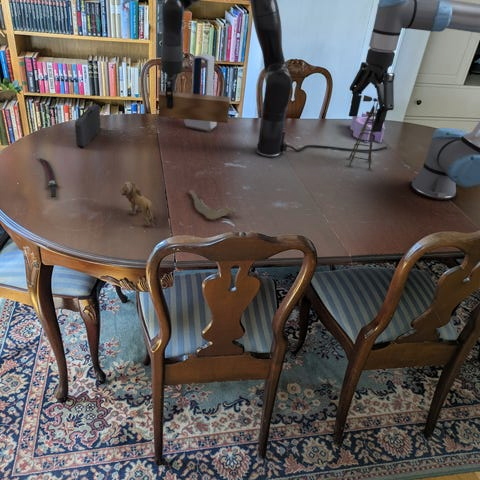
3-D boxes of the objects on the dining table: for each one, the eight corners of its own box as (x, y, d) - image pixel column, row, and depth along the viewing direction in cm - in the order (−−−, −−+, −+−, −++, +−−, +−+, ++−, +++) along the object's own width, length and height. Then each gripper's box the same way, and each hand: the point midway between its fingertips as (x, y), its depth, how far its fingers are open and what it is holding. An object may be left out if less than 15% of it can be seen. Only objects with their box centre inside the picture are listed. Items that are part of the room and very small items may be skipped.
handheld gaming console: (94, 127, 192) (92, 103, 187) (101, 127, 192) (99, 103, 187) (76, 147, 173) (73, 121, 167) (83, 148, 173) (80, 122, 167)
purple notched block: (343, 126, 223) (346, 112, 219) (367, 127, 225) (371, 113, 221) (360, 142, 206) (364, 127, 202) (386, 142, 209) (390, 127, 205)
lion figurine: (118, 210, 138) (116, 182, 133) (132, 204, 141) (131, 177, 137) (151, 229, 130) (150, 201, 126) (165, 223, 134) (165, 195, 129)
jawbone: (218, 227, 136) (218, 221, 134) (170, 202, 146) (169, 197, 145) (238, 214, 141) (238, 209, 140) (190, 191, 152) (190, 186, 151)
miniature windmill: (370, 170, 181) (390, 92, 164) (348, 166, 182) (366, 88, 166) (369, 161, 188) (389, 86, 172) (348, 157, 189) (366, 82, 173)
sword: (61, 197, 141) (61, 193, 140) (50, 198, 139) (50, 194, 139) (49, 160, 164) (48, 156, 163) (39, 160, 163) (39, 157, 162)
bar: (158, 116, 172) (158, 94, 167) (160, 111, 176) (160, 90, 172) (227, 123, 173) (229, 101, 168) (228, 118, 177) (229, 97, 173)
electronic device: (216, 128, 205) (221, 56, 188) (210, 133, 198) (214, 59, 182) (190, 122, 207) (193, 51, 191) (183, 127, 201) (185, 54, 185)
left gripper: (180, 63, 157) (178, 112, 167) (185, 54, 169) (183, 101, 179) (157, 61, 157) (157, 110, 166) (164, 52, 169) (164, 99, 178)
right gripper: (420, 60, 122) (398, 138, 133) (369, 41, 141) (353, 110, 153) (396, 60, 119) (376, 139, 131) (348, 40, 139) (333, 110, 150)
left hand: (171, 105), depth 172 cm, fingers closed on bar, 5 cm apart
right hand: (364, 123), depth 142 cm, fingers open, 13 cm apart
